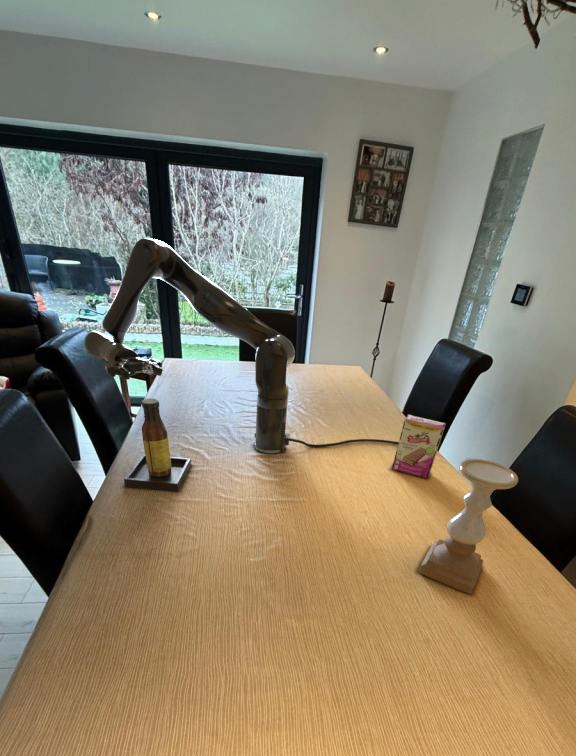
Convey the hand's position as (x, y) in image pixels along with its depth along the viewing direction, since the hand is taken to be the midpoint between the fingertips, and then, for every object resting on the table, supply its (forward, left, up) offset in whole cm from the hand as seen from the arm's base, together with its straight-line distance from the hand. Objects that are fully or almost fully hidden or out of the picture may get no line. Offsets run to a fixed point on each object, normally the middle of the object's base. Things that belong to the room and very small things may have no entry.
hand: (144, 373), depth 109 cm
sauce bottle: (-5, +11, -23) cm, 26 cm away
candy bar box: (-77, -5, -24) cm, 81 cm away
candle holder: (-76, +40, -24) cm, 90 cm away
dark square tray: (-5, +11, -24) cm, 27 cm away
